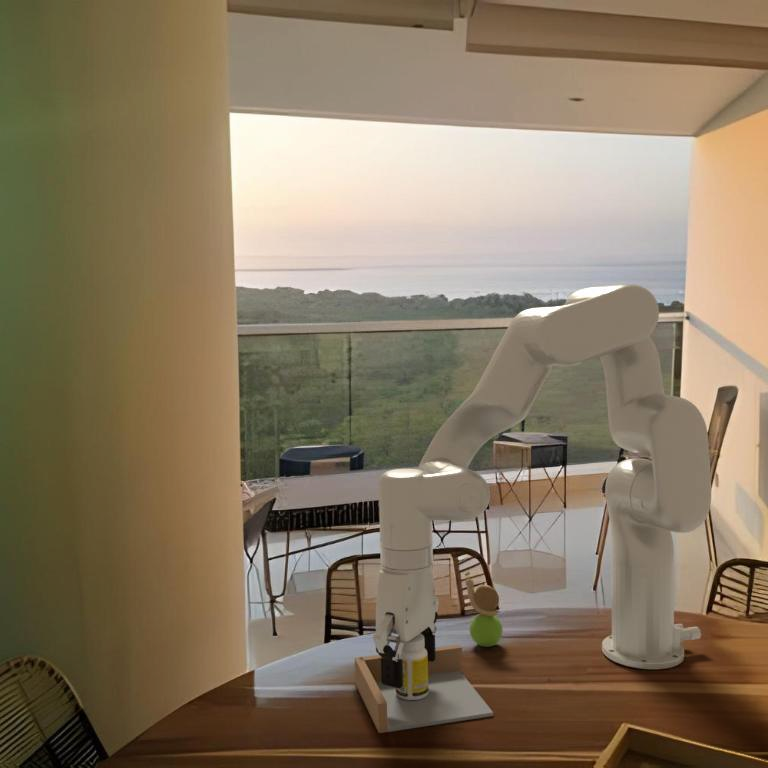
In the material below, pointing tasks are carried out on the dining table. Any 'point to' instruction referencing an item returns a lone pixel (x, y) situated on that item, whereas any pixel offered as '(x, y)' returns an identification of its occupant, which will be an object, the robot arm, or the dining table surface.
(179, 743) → the dining table surface
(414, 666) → the supplement bottle
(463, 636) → the dining table surface
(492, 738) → the dining table surface
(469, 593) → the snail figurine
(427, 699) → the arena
